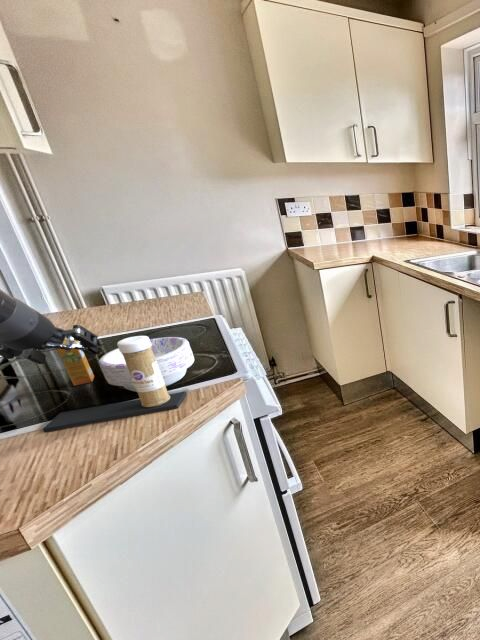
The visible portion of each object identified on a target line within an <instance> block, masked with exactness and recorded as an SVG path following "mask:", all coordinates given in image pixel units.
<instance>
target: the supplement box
mask: <svg viewBox="0 0 480 640" xmlns="http://www.w3.org/2000/svg"><path fill="white" fill-rule="evenodd" d="M63 344H65V345H67V338H65V339H64V342H63ZM75 344H76V345H80V341H75ZM56 350H57V352H58V355H59V357H60V359H61V362H62V363H63V365H64V368H65V370H66V372H67V374H68V377H69V379H70V381H71V383H72V385H73V386H75V387H76V386H79V385H80V386H81V385H85V384H90V383H93V381H94V378H95V375H94V372H93V370H92V368H91V367H90V364H89V361H88V359H87V357H86V353H84V352H83V351H81V350H77V349H71V350H64V349H58V348H56Z"/></svg>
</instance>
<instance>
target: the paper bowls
mask: <svg viewBox="0 0 480 640" xmlns="http://www.w3.org/2000/svg"><path fill="white" fill-rule="evenodd" d="M149 340H150V342H151V347H152V348H151V349H152V351H153V354H154V357H155V359H156V361H157V364H158V366H159V369H160V372H161V374H162V377H163V380H164V382H165V386H166V387H169V386H171V385H173V384H175V383H177V382H179V381H180V380H181V379H183V378H184V377H185V376H186V374H187V369H188V368H190V367H191V366H192V365H193V364H194V362H195V356H194V353H193V350H192V348H191V345H190V342H189V341H188V339H186V338H184V337H181V336H180V337H179V336H165V337H157V338H156V337H155V338H149ZM98 365H99V367H100V369H101V371H102V373H103V376H104V379H105V380H106V382H107V383H108V384H109V385H110V386H111V385H112V386H118V387H123V388H125V389H126V390H128V391H130V392H136V393H138V392H137V391H136V389H135V386H134V384H133V381H132V379H131V375H130V372H129V370H128V367H127V365H126V362H125V360H124V356H123V355H122V353H121V352H120V351H119V348H115V349H112V350H111V351H109V352H107V353H105V354H103V355H102V356H101V357H100V358H99V360H98Z"/></svg>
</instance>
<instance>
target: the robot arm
mask: <svg viewBox="0 0 480 640" xmlns="http://www.w3.org/2000/svg"><path fill="white" fill-rule="evenodd" d="M64 339H67V345H65V344H63V342H64ZM75 341H79V343H80V345H76V344H75ZM57 348H58V349H64V350H71V349H77V350H81V351H83V352H84V354H85V355H87V356H89V357H91V358H93V357H97V354H98V352H99V346H98V335H97V334H95V333H93V332H92V331H90V329H89V330H88V329H87V328H85V327H84V326H82V325H80V324H74V325H72V328H71V329H64V328H60V327H57V326H55V325H54V323H53V322H52V321H51V320H50V319H49V318H48V317H46V315H44V314H42V313H41V312H39V311H37V310H36V309H34V308H33V307H32V306H30V305H28V304H27V303H26V302H23V301H22V300H20V299H18V298H16V297H14V296H13V295H10V294H8V293H7V292H5V291H4V290H2V289H0V357H2V358H4V359H6V360H13V359H14V358H16V357H18V358H20V359H26V360H28V361H30V362H31V363H36V364H38V365H44V364H45V363H46V359H47V358H46V357H47V356H46V354H45V353H44V352H41V351H43V350H48V349H57Z"/></svg>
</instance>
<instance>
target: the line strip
mask: <svg viewBox="0 0 480 640" xmlns="http://www.w3.org/2000/svg"><path fill="white" fill-rule="evenodd" d="M168 394H169V395H170V399H169V400H168V401H167V402H166V403H164V404H162V405H159V406H155V407H143V406H142V405H141V400H140V398H139V399H132V400H125V401H120V402H115V403H108V404H103V405H97V406H91V407H86V408H80V409H74V410H68V411H62V412H59V413H58V414H57V415H56V416H55V417H54V418H53V419H51V421H49V422H48V423H47V424H46V425H45V426H44V427H43V428H42V431H43V432H44V433H49V432H55V431H59V430H66V429H72V428H75V427H76V428H77V427H81V426H88V425H92V424H99V423H104V422H110V421H114V420H120V419H126V418H131V417H137V416H143V415H148V414H153V413H154V414H155V413H159V412H164V411H170V410H175V409H179V407H180V406H181V404H182V402H183V401H184V399H185V398H186V396H187V392H186V391H180V392H179V391H177V392H173V393H168Z"/></svg>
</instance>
